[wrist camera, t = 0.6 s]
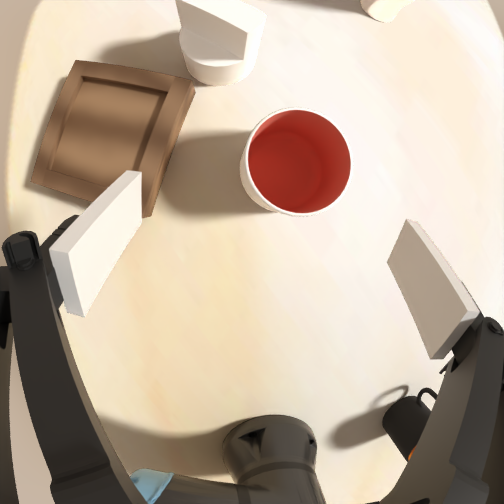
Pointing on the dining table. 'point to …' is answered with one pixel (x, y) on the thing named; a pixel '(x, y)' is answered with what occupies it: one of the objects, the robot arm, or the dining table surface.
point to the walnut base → (112, 130)
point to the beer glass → (383, 8)
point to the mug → (407, 422)
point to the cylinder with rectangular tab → (219, 39)
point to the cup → (296, 162)
